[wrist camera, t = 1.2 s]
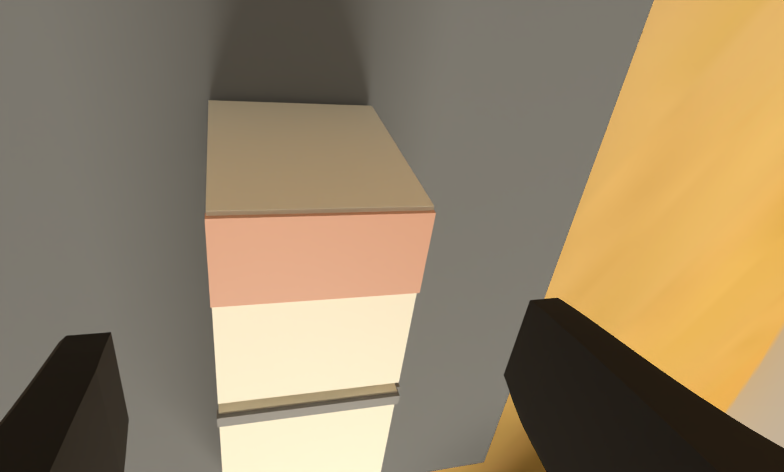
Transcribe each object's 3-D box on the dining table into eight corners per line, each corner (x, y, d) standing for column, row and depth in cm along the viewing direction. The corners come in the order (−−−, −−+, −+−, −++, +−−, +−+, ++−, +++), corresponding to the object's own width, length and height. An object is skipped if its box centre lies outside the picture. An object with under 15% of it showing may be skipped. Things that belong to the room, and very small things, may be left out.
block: (216, 261, 16) (217, 407, 12) (207, 100, 14) (204, 214, 9) (355, 255, 17) (400, 385, 13) (372, 105, 15) (436, 208, 10)
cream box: (228, 478, 22) (231, 632, 18) (216, 266, 17) (216, 417, 12) (332, 462, 24) (359, 602, 19) (355, 259, 18) (402, 394, 13)
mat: (26, 521, 22) (20, 541, 21) (-393, -457, 8) (-447, -485, 7) (477, 448, 28) (483, 462, 27) (702, -194, 14) (725, -197, 13)
